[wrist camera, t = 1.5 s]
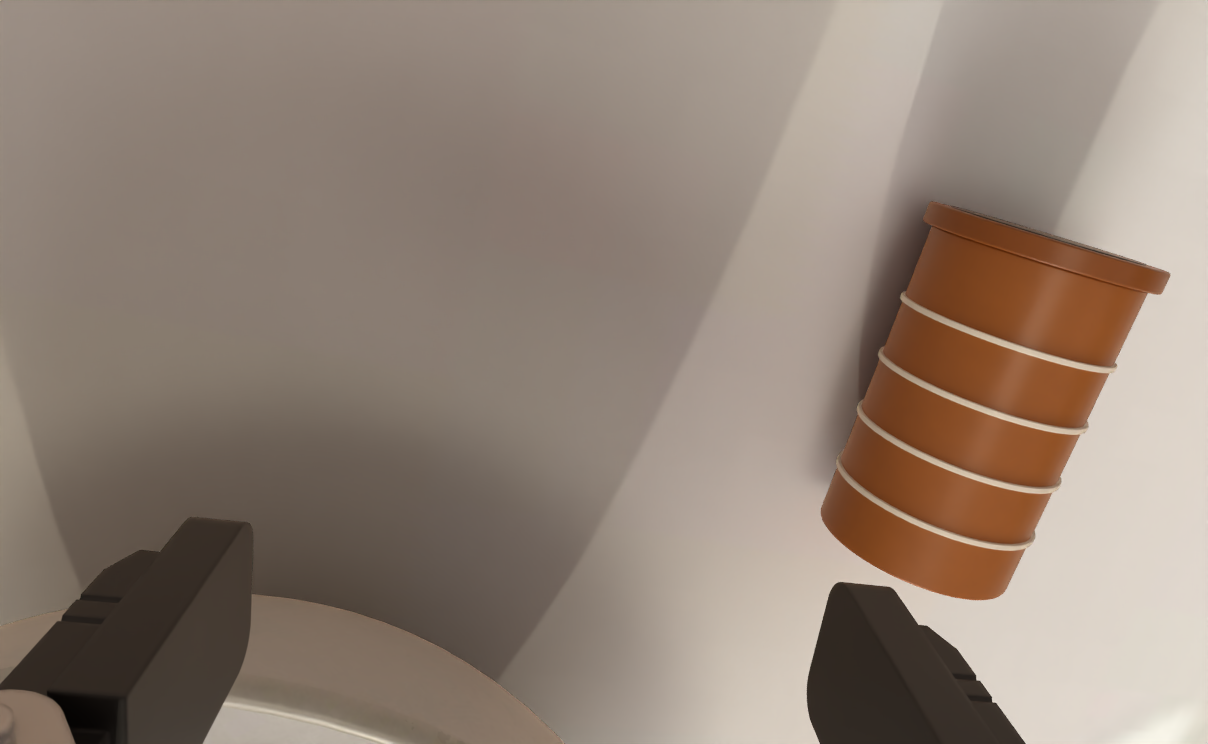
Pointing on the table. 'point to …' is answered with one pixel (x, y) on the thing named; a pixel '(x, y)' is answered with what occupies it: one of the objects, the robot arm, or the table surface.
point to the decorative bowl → (341, 683)
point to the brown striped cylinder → (980, 399)
